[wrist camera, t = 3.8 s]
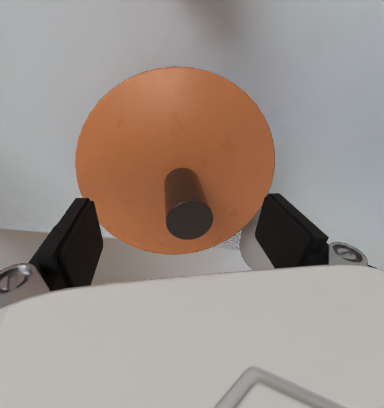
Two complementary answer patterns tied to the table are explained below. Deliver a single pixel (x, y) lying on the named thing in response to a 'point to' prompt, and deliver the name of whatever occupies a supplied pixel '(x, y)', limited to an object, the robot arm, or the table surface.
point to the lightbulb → (253, 247)
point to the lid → (175, 160)
